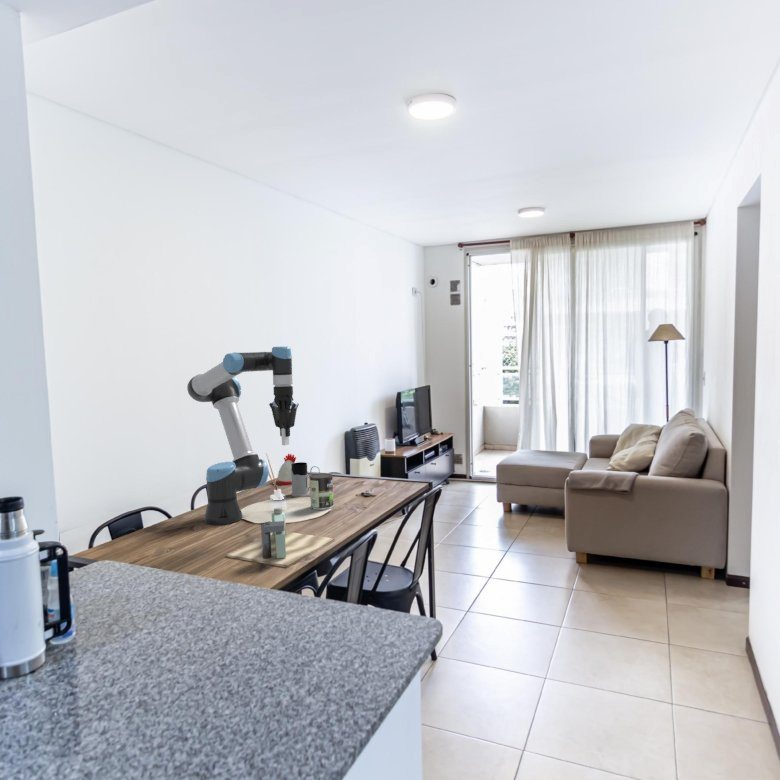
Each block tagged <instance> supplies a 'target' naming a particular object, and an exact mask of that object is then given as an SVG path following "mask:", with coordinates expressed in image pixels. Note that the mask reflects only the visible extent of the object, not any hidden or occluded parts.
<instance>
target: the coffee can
mask: <svg viewBox="0 0 780 780" xmlns="http://www.w3.org/2000/svg"><path fill="white" fill-rule="evenodd" d="M308 479H309V487H310V488H309V493H310V494H309V495H310V509H312V508H313V509H312V510H315V509H318V510H317V511H319V510H320V511H323V510H324V509H325V510H329V509H333V508H334V506H335V505H334V486H333V484H334V483H333V481H334V480H333V474H332V473H325V472H324V473H323V472H322V473H321V472H320V474H319V473H314V474H311V475H308Z"/></svg>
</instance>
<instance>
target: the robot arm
mask: <svg viewBox="0 0 780 780" xmlns="http://www.w3.org/2000/svg"><path fill="white" fill-rule="evenodd" d="M292 359H293V356H292V349H291V347H289V346H288V345H287V346H273V347H272V348H271V351H256V352H255V351H253V352H252V351H251V352H230V353H226V354H225V355H224V357H223V359H222V361H221V362H220V363H218V364H217V365H215V366H214V367H212V368H211V369H209V370H207V371H206V372H204V373H199V374H196V375H195V376H193V377H192V378H190V379H189V381H188V383H187V386H186V387H187V388H186V389H187V390H186V391H187V392H188V395H189V396H190V397H191V398H192V399H193V400H195V401H197V402H200V403H212V406H213V408H214V409H216V410H217V411H218V413H219V417H220V420H221V423H222V426H223V429H224V431H225V436H226V438H227V442H228V445H229V448H230V450H231V453H232V457H233V458H232V461H224V462H218V463H215V464H212V465H211V466H209V467H208V468H207V469H206V476H205V477H206V478H205V481H206V492H207V493H206V494H207V505H206V510H205V514H204V517H203V519H204V521H203V522H204V523H205V524H206V525H210V526H211V525H213V526H221V525H229V524H233V523H237V522H239V521H240V520H242V519H243V513H242V510H241V509H240V505H239V502H238V498H237V497H238V496H237V495H238V494H237V493H238V492H243V491H249V490H252V489H257V488H259V487H262V486H264V485H265V484H266V483H267V481H268V478H269V467H268V464H267V462H266V461H265V460H264V459H261V458H260V457H259V455H258V453H256V452H254V451H253V448H252V445H251V441H250V439H249V436H248V432H247V429H246V426H245V424H244V421H243V418H242V415H241V411H240V408H239V405H238V402H239V401H240V397H241V394H242V391H241V390H242V386H241V383H240V381H239V380H238V379H237V377H236V376H238V375H240V374H242V373H246V372H247V373H249V372H263V371H265V372H266V371H272V385H273V396H274V399H273V401H272V402H270V403H269V407H270V409H271V412H272V418H273V421H274V422H273V423H274V425H275V427H277V428H279V435H280V437H281V446H288V445H290V436H291V428H293V427H294V426H295V424H296V423H295V422H296V415H297V409H298V407H299V403H298V402H295V401H294V398H293V395H294V387H293V364H292V363H293V360H292Z"/></svg>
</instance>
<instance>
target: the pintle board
mask: <svg viewBox="0 0 780 780" xmlns="http://www.w3.org/2000/svg"><path fill="white" fill-rule="evenodd" d="M273 512H274V513H275V514H279V513H282V512H283V508H282V507H275V508H273ZM335 540H336V539H335V538H334V537H333V538H332V537H326V536H319V535H311V534H306V533H298V532H292V531H291V532H290V531H286V534H285V546H286V558H277V554H276V540H275V536H273V535H272V532H271V554H272V557H271V558H269V559H263V558H262V537H260V538H258V539H256V540H253V541H251V542H249V543H247V544H245V545H244V546H241V547H238V548H237V549H234V550H232V551H230V552H228V553H225V557H226V558H232V559H236V560H243V561H248V562H253V563H259V564H266V565H271V566H276V567H283V568H290V567H291V566H293V565H296V564H297V563H299V562H301V561H302V560H304V559H305V558H308V557H309V556H311V555H312V554H314V553H316V552H317V551H319V550H321V549H323V548H325V547H326V546H328V545H329V544H332V543H333V542H335Z"/></svg>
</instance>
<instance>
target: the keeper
mask: <svg viewBox="0 0 780 780" xmlns="http://www.w3.org/2000/svg"><path fill="white" fill-rule="evenodd" d="M284 527H285V525H284V521H277V522H272V521H266V522H263V523H261V524H260V531H261V532H260V535H261V538H262V558H263V559H269V558H271V557H272V554H271V533H272V532H281V531H284Z"/></svg>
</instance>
